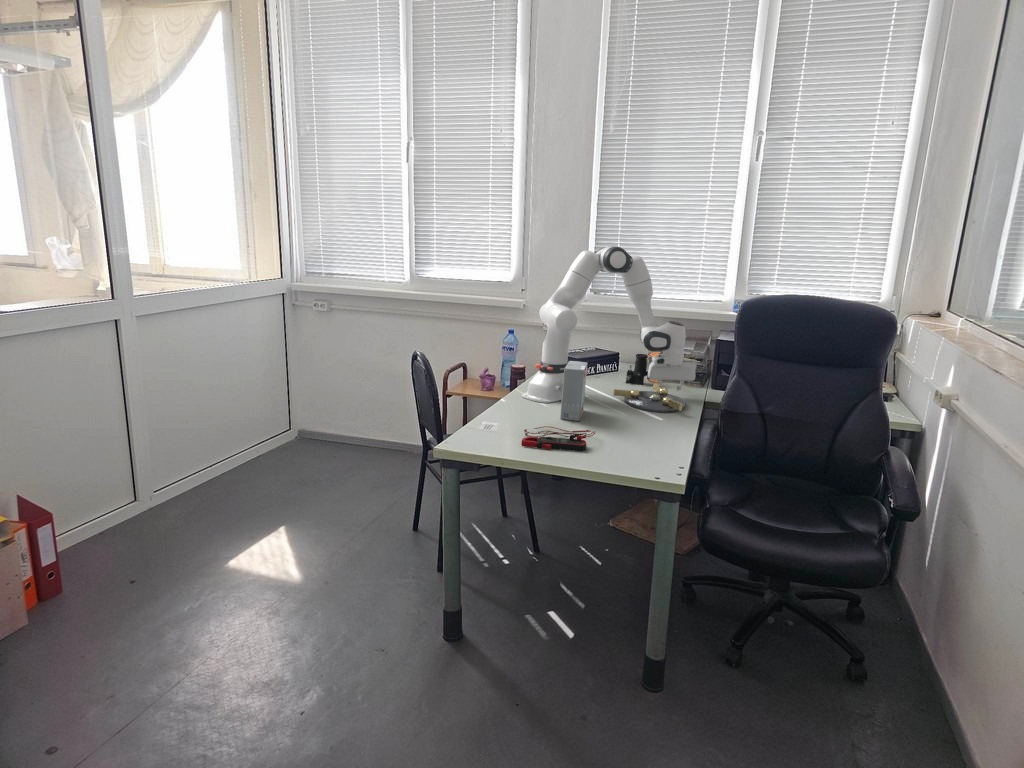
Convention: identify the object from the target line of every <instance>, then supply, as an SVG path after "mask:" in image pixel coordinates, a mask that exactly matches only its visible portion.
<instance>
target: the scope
mask: <svg viewBox="0 0 1024 768" xmlns="http://www.w3.org/2000/svg"><path fill="white" fill-rule="evenodd" d="M648 357H649V355H648V354H645V353H636V354H635V363H634V369H633V370H632V366H633V365H632V364H629V369H627V371H626V377H625V383H626V384H632V385H638V386H639V385H641V386H643V385H644V383H645V382H644V381H645V378H646V377H648V370H647V367H648Z"/></svg>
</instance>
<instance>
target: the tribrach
mask: <svg viewBox="0 0 1024 768" xmlns="http://www.w3.org/2000/svg"><path fill="white" fill-rule="evenodd" d="M638 391H639V398H632V397H624V403H625V404H626V405H627V406H628V407H631V408H634V409H637V410H639V411H644V412H651V413H660V414H661V413H662V414H664V413H665V414H668V413H669V414H671V413H679V412H680V411H679V410H677V409H674V408H672V407H670V406H668V405H663V397H670V398H672V400H675V401H677V402H679V403H681V404H683V405H682V410H681V411H683V410H685V407H686V401H685V400H684V399H683V398H682V397H679V396H677V395H674V394H670V393H668V395H667V396H662V395H659V393H658V392H657V391H652V390H651V391H649V390H638Z"/></svg>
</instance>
